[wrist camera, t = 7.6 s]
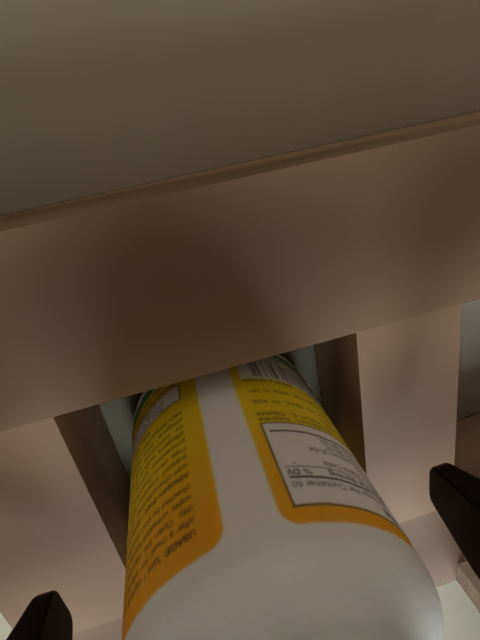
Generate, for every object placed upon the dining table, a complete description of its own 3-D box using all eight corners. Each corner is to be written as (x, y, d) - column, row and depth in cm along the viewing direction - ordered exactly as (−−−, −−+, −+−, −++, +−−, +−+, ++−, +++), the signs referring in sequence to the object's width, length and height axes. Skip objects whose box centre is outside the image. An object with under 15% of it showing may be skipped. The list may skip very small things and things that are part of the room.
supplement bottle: (291, 313, 12) (671, 751, 3) (311, 451, 14) (569, 925, 6) (106, 363, 11) (-12, 1056, 3) (158, 499, 14) (184, 1112, 5)
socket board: (606, 440, 18) (865, 606, 11) (89, 613, 15) (49, 953, 9) (703, 61, 12) (1367, -36, 5) (-126, 243, 9) (-740, 469, 3)
